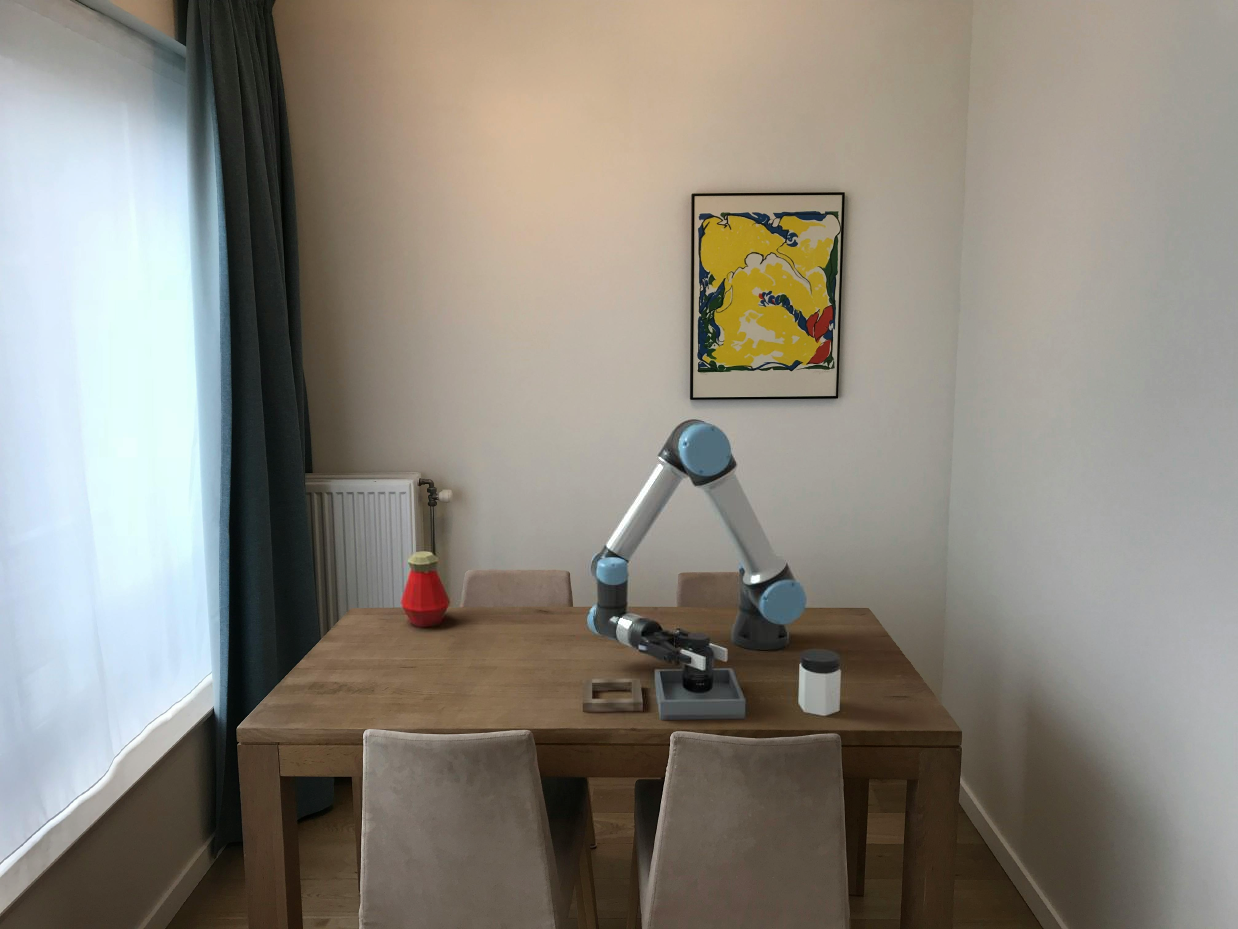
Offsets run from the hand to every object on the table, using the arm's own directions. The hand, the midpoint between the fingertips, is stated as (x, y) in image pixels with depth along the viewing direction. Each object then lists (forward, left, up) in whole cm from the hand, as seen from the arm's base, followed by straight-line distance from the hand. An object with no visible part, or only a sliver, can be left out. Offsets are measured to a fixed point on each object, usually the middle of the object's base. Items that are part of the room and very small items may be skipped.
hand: (715, 659), depth 187 cm
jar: (-23, 0, -11) cm, 25 cm away
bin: (+3, -4, -11) cm, 12 cm away
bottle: (+74, -60, -11) cm, 96 cm away
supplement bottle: (+3, -4, -8) cm, 10 cm away
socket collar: (+22, -6, -11) cm, 26 cm away
